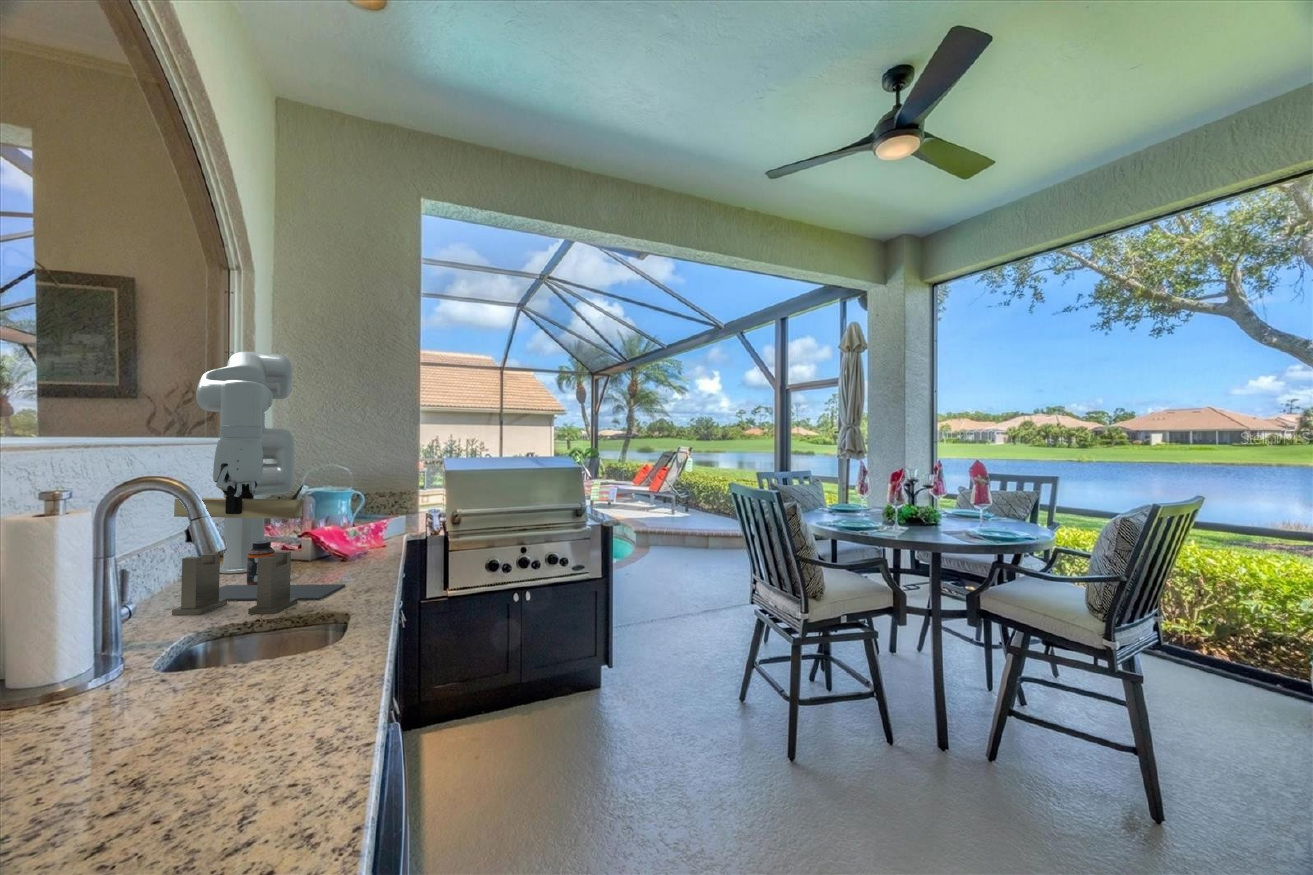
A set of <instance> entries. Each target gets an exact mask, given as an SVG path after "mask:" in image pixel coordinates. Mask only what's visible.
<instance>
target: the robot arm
mask: <svg viewBox="0 0 1313 875" xmlns="http://www.w3.org/2000/svg"><path fill="white" fill-rule="evenodd" d="M292 385H293V367H292V363H291V361H290V359H289V358H288V357H286V356H284V355H283V354H279V353H278V354H277V353H268V352H257V351H239V352H236V353H234V354H232V355H231V356H230V357H229V358H228V360H227V365H226V366H224V367H221V368H215V369H212V370H209V371H206V372H205V373H203V374H202V375H201V377H200V379H199V382H198V384H197V387H196V393H195V394H196V396H195V398H196V402H197V404H198V406H199V408H201V410H203V411H205V412H212V413H213V412H215V413H217V412H218V413H220V427H219V439H218V441H217V444H216V448H215V452H214V460H213V472H212V481H213V482H214V483H215V487H216V488H218V489H219V490H220V491H222V492H223V498H226V508H225V513H226V514H241V513H242V499H256V498H255V496H263V495H265V496H266V495H283V494H285V495H286V494H287V493H290V492H291V491H292V490H293V487H294V483H295V482H294V480H295V442H294V441H295V440H294V436H293V434H292V433H291V431H290V430H288V429H286V428H285V429H283V428H268V427H267V428H266V425H265V423H266V422H265V420H266V413H265V412H267V411H268V410H269V409H270V408H271V407H272V405H273V400H284V399H285V400H286V398H288V397H290V394H291V392H292ZM264 460H273V461H274V460H275V461H276V463H264ZM265 519H266V518H224V517H223V520H224V521H223V522H224V523H223V524H224V525H223V527H224V529H223V539H224V538H225V541H226V543H227V550H226V551H225V553H224V552H223V563H222V564H220V574H241V573H242V574H243V573H247V558H248V552H249V551H250V550H251V549H252V548H253V547H252V545H253V542H256V541H265Z"/></svg>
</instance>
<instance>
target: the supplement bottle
mask: <svg viewBox="0 0 1313 875" xmlns="http://www.w3.org/2000/svg"><path fill="white" fill-rule="evenodd" d="M271 544H272V541H270V540H264V541H256V542H253V545H252V547H253V548H252V549H251V550H250V551H249V552H248V558H247V572H246V585H257V576H258V558H260V557H274V553H275V548H272V545H271Z"/></svg>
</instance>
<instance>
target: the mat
mask: <svg viewBox="0 0 1313 875" xmlns="http://www.w3.org/2000/svg"><path fill="white" fill-rule="evenodd" d="M344 588H346V584H345V583H342V584H336V583H335V584H333V583H332V584H325V583H324V584H322V583H321V584H290V598H298V601H321V600H323V599H325V598H327V597H329V596H331V595H332V594H334V593H336V592H338V591H340V590H341V589H344ZM219 599H227V600H237V601H236V602H248V601H249V602H257V585H248V584H237V585H236V584H226V585H222V586H221V587H220V586H219ZM238 600H240V601H238ZM254 600H256V601H254Z"/></svg>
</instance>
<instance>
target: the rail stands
mask: <svg viewBox="0 0 1313 875" xmlns="http://www.w3.org/2000/svg"><path fill="white" fill-rule="evenodd" d="M291 563H292V552H291V551H276V552H275V553H274V557H260V558H258V576H257V601H256V604H255V605H254V606H252V607H249V608H248V609H247V615H277V614H280V613H281V612H283V611H285V610H286V609H289V608H291V607H293V606H295V605H297V604H298V601H299V600H298V598H290V585H291V572H292V571H291V568H292V566H291V565H292V564H291ZM220 566H221V553H220V554H216V555H202V554H201V556H186V557H182V558H181V590H180V591H181V592H180V595H181V596H180V606H178V607H175V608H173V609H171V616H201V615H203V614H206V613H209V612H210V611H213V610H215V609H218V608H220V607H223V606H224V605H223V604H225V605H228V601H227V599H219V588H220V577H221V576H220V574H221V573H220ZM294 604H295V605H294ZM222 605H223V606H222ZM212 609H213V610H212ZM284 609H285V610H284ZM197 614H198V615H197Z"/></svg>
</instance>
